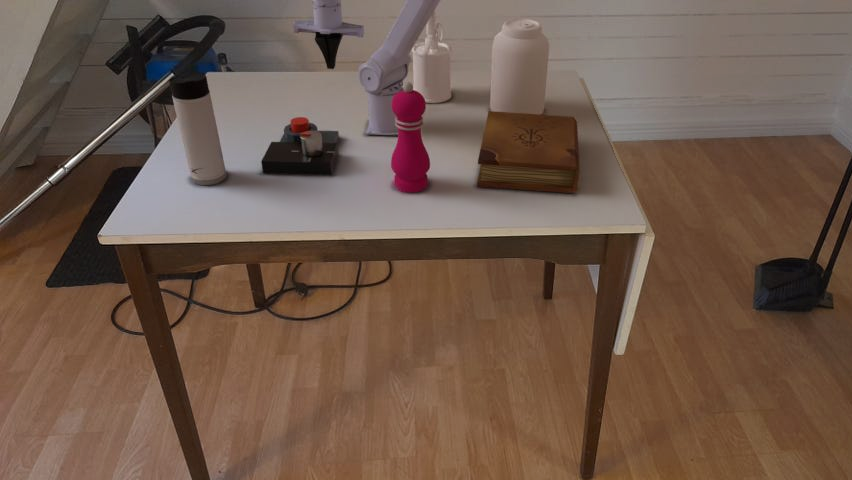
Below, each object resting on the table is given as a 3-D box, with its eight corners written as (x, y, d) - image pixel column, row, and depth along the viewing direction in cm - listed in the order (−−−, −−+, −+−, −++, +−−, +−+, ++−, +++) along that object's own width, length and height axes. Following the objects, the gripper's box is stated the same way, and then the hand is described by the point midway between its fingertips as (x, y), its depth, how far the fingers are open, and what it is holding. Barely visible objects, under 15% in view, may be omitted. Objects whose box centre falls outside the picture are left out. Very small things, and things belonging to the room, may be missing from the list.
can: (553, 108, 164) (561, 21, 153) (527, 126, 156) (533, 35, 144) (507, 96, 170) (511, 11, 158) (479, 113, 161) (482, 24, 149)
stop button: (311, 126, 145) (310, 117, 144) (307, 134, 142) (306, 124, 141) (293, 126, 145) (292, 116, 144) (290, 133, 142) (288, 124, 141)
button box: (339, 137, 149) (337, 122, 147) (333, 152, 143) (332, 136, 141) (286, 136, 148) (284, 120, 146) (279, 151, 143) (276, 135, 141)
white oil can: (418, 86, 173) (416, 2, 161) (455, 90, 171) (456, 6, 160) (406, 103, 164) (403, 15, 153) (445, 107, 163) (445, 19, 151)
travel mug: (195, 189, 129) (170, 84, 117) (189, 173, 134) (164, 71, 122) (230, 182, 132) (209, 78, 120) (223, 167, 136) (202, 66, 125)
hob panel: (338, 154, 142) (337, 142, 140) (332, 175, 135) (330, 162, 134) (273, 153, 142) (271, 140, 140) (263, 173, 135) (261, 160, 133)
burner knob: (325, 147, 139) (323, 129, 136) (321, 156, 135) (319, 138, 133) (304, 147, 139) (302, 128, 136) (300, 156, 135) (298, 137, 133)
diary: (576, 194, 132) (580, 166, 129) (477, 187, 133) (478, 159, 130) (574, 141, 151) (577, 115, 147) (487, 135, 152) (488, 110, 148)
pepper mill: (415, 198, 129) (412, 93, 117) (384, 187, 132) (378, 84, 120) (437, 182, 134) (437, 80, 122) (407, 172, 137) (403, 72, 125)
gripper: (286, 6, 141) (293, 71, 149) (359, 11, 142) (361, 76, 150) (295, -4, 147) (301, 59, 155) (364, 1, 147) (366, 64, 155)
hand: (331, 67), depth 153 cm, fingers closed
